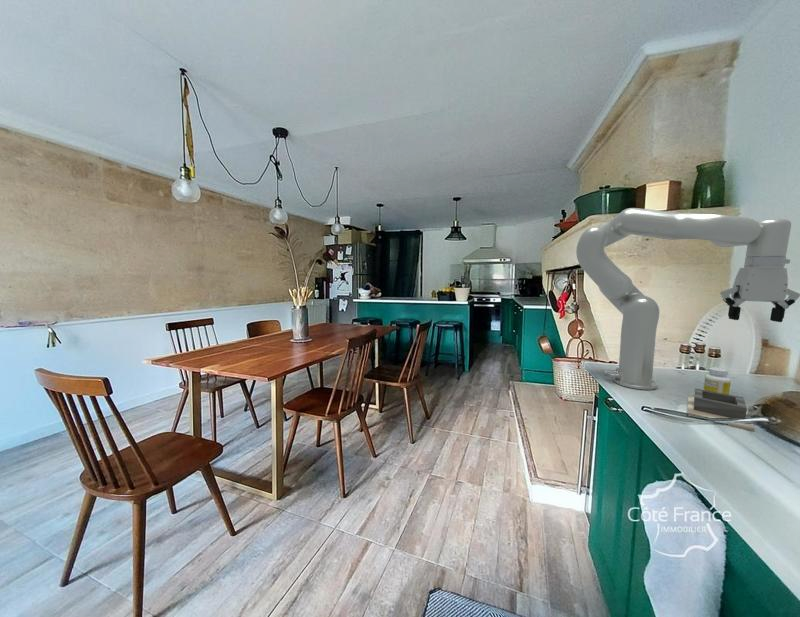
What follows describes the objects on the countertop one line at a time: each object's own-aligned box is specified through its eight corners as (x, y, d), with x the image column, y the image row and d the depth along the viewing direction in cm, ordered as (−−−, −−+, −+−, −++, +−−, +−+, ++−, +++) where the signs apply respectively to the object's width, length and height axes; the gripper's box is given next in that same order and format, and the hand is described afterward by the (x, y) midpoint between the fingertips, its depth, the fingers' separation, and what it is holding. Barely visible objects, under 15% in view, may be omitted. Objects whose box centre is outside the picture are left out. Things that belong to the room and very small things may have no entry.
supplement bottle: (725, 398, 92) (728, 368, 91) (731, 405, 88) (734, 373, 87) (700, 394, 95) (703, 365, 94) (705, 400, 91) (708, 370, 90)
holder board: (754, 431, 73) (756, 414, 73) (686, 415, 82) (688, 400, 81) (746, 410, 84) (748, 394, 84) (688, 398, 93) (689, 384, 92)
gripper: (792, 263, 88) (781, 320, 90) (717, 263, 93) (709, 316, 95) (817, 262, 81) (805, 324, 83) (735, 262, 86) (726, 320, 88)
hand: (754, 320), depth 89 cm, fingers open, 9 cm apart
